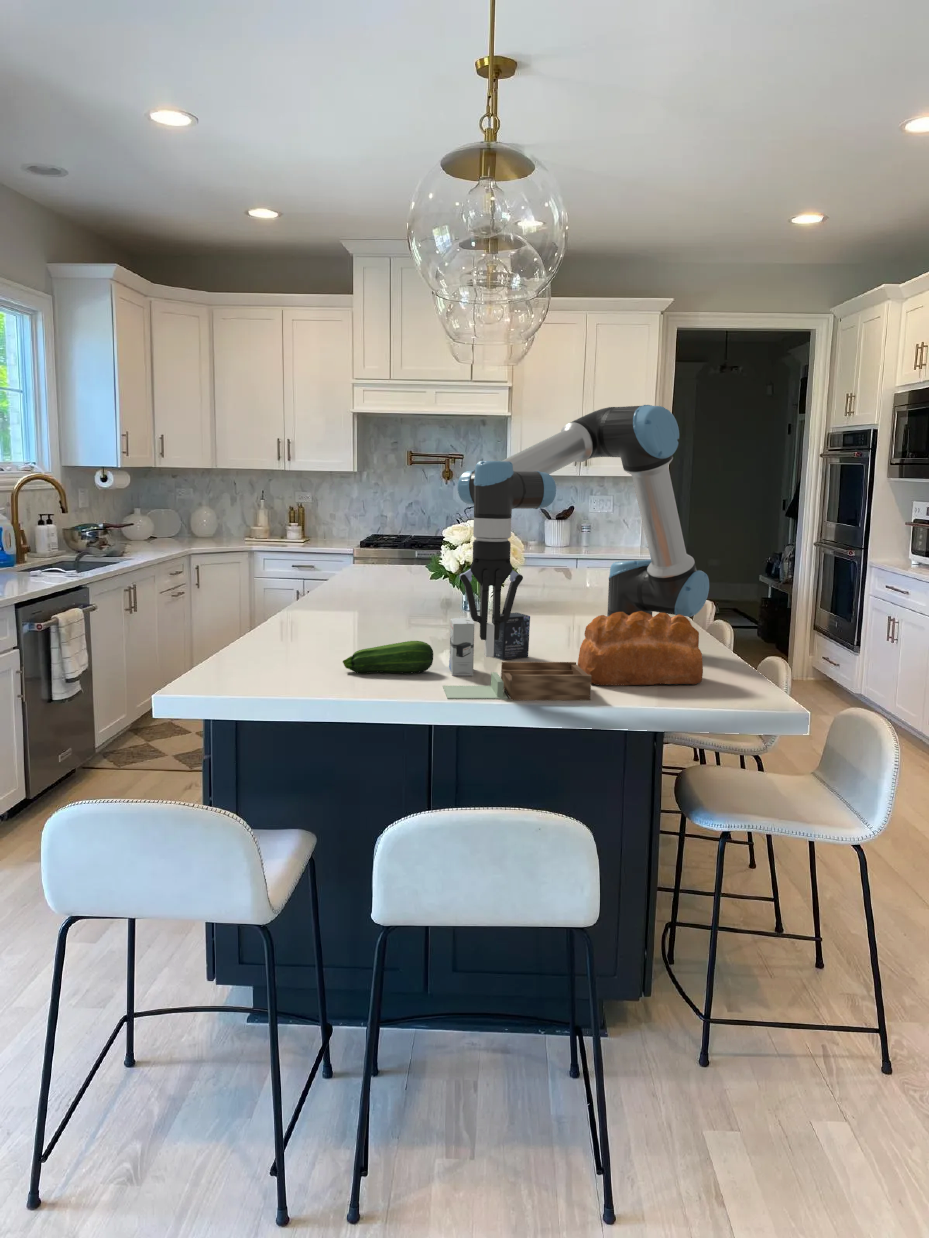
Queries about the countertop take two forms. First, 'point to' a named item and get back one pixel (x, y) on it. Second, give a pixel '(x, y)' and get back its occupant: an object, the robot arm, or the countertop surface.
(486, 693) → the lid
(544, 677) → the pencil box
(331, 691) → the countertop surface
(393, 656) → the vegetable
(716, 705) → the countertop surface
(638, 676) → the bread
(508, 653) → the box
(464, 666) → the ink box
